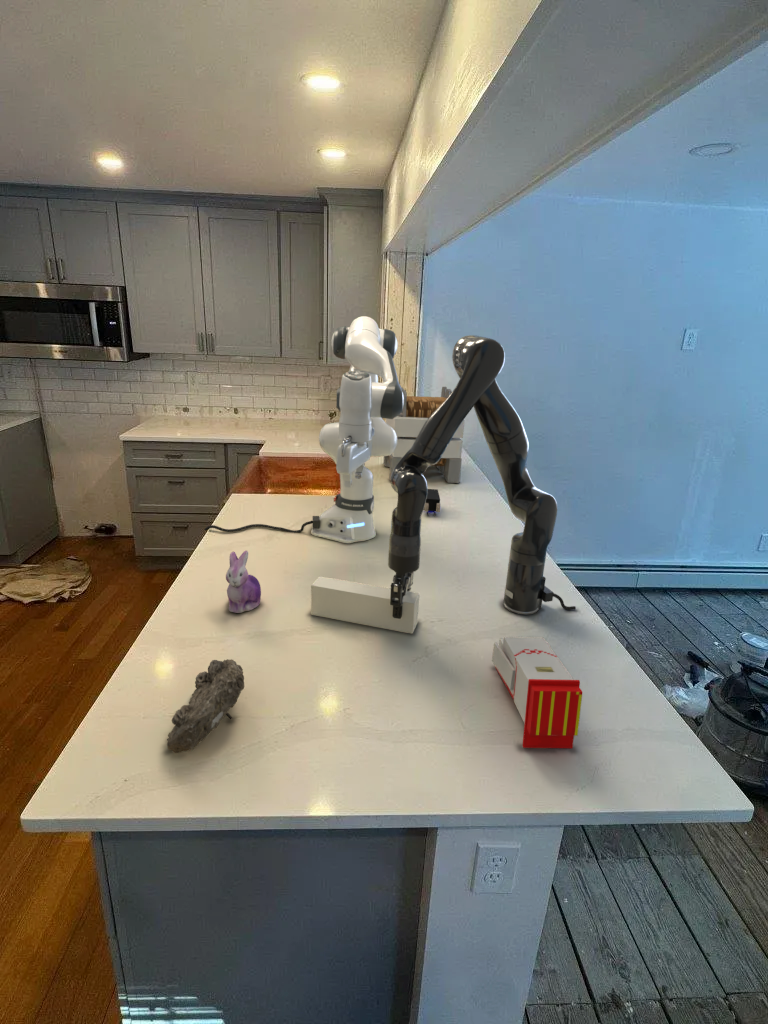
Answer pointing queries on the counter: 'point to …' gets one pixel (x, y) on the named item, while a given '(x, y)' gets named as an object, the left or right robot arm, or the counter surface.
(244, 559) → the figurine
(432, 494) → the figurine character
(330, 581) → the bar
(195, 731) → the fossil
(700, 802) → the counter surface
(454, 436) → the transformer
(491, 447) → the right robot arm
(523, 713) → the toy
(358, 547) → the counter surface
